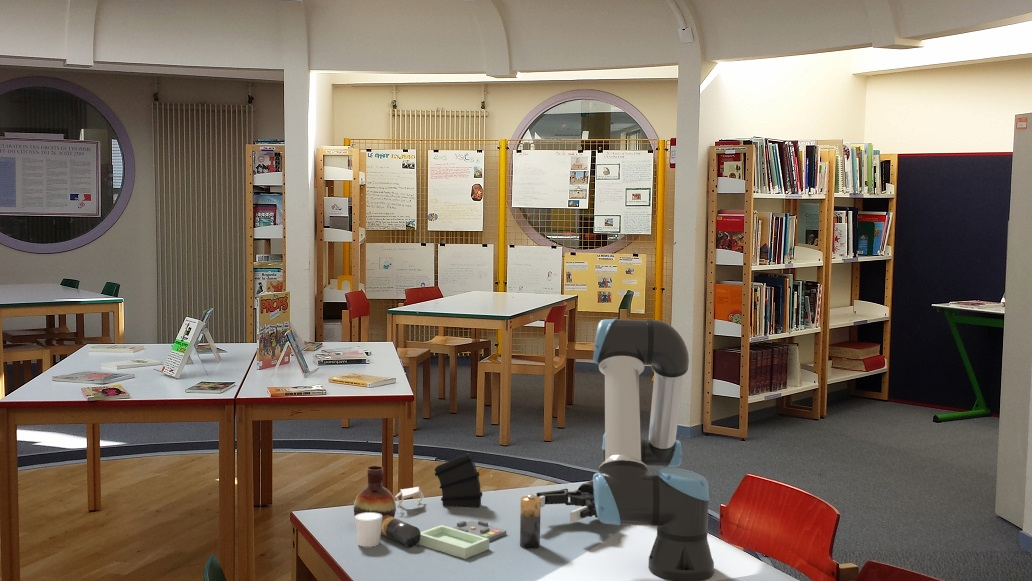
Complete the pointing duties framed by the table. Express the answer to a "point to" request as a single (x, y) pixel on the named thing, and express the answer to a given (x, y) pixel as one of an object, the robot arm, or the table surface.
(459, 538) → the trough
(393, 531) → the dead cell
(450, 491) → the magazine
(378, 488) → the vase
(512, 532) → the table surface
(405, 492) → the white legged piece
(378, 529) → the white cup
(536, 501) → the cell
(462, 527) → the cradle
